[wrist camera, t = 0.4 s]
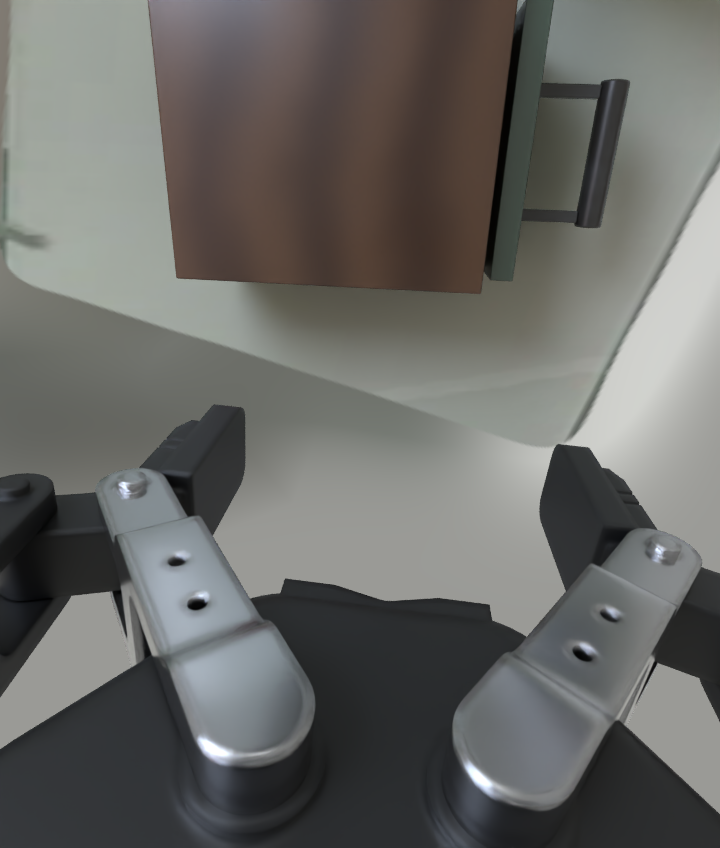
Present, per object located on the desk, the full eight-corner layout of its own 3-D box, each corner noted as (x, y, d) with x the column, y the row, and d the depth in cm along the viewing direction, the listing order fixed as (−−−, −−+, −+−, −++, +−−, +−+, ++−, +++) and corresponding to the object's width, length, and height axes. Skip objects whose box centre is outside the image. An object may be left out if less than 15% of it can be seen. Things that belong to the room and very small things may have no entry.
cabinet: (492, 27, 32) (521, -27, 23) (465, 266, 38) (481, 294, 29) (214, 21, 33) (143, -32, 24) (229, 255, 39) (175, 278, 30)
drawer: (610, 38, 31) (668, -1, 24) (568, 264, 36) (605, 286, 29) (256, 31, 32) (212, -9, 25) (264, 249, 38) (230, 267, 31)
